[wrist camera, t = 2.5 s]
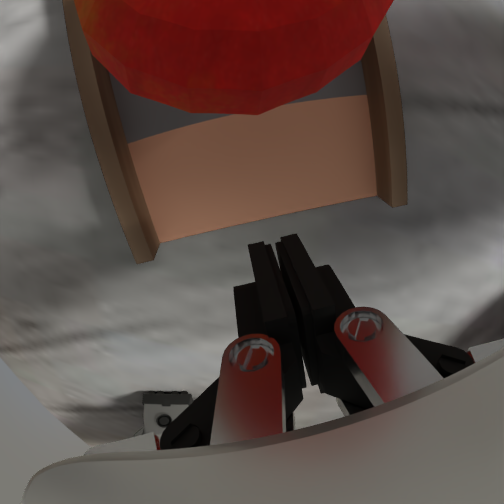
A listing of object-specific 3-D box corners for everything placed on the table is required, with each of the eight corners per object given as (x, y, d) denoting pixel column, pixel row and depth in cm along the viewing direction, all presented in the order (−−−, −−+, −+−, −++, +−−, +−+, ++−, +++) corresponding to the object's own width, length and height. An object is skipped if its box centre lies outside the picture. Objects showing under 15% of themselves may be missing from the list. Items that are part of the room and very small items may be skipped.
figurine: (258, 434, 29) (275, 562, 16) (152, 435, 28) (143, 559, 15) (258, 385, 25) (282, 555, 12) (126, 387, 24) (101, 546, 11)
